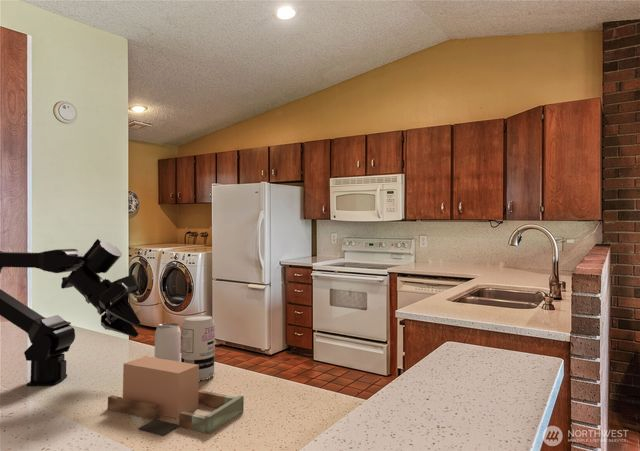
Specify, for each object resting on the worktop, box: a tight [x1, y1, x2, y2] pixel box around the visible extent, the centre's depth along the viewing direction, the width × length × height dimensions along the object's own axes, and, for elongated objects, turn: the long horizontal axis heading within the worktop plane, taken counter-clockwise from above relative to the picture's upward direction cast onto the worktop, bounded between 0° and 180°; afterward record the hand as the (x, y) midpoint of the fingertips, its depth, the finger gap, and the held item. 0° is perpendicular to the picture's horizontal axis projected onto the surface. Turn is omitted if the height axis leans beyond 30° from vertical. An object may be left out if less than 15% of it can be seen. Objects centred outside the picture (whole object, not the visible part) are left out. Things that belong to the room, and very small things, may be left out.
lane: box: [107, 389, 245, 436], centre depth 86 cm, size 26×19×3 cm
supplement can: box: [180, 315, 216, 381], centre depth 106 cm, size 8×8×15 cm
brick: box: [122, 356, 200, 420], centre depth 87 cm, size 15×6×9 cm, turn 67°
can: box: [154, 322, 182, 362], centre depth 111 cm, size 6×6×12 cm
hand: (138, 330), depth 101 cm, fingers open, 9 cm apart
